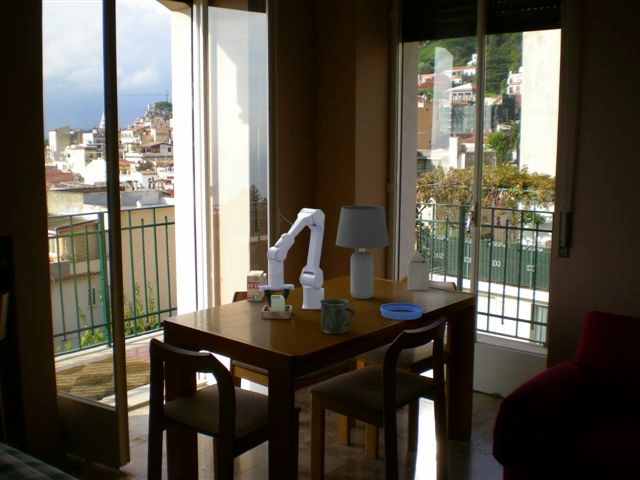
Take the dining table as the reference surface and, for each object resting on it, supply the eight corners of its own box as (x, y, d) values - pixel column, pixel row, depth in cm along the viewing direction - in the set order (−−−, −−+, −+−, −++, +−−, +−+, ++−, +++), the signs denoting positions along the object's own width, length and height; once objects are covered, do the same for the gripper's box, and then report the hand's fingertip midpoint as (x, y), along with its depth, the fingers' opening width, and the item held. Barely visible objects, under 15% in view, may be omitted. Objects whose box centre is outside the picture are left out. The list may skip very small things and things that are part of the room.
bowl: (395, 322, 281) (395, 314, 281) (372, 313, 297) (372, 305, 297) (431, 317, 290) (431, 309, 289) (407, 308, 305) (407, 300, 305)
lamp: (375, 290, 342) (376, 204, 336) (397, 301, 319) (398, 209, 313) (328, 293, 334) (328, 205, 328) (346, 305, 311) (346, 210, 305)
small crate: (281, 308, 296) (281, 295, 296) (284, 312, 289) (284, 298, 288) (268, 309, 295) (268, 295, 294) (272, 313, 288) (272, 299, 287)
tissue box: (421, 292, 338) (422, 253, 336) (407, 290, 343) (407, 252, 341) (436, 286, 351) (437, 249, 349) (422, 285, 356) (423, 248, 354)
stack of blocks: (254, 291, 340) (254, 267, 339) (267, 291, 340) (266, 267, 338) (246, 301, 319) (246, 275, 318) (260, 301, 319) (260, 275, 317)
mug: (329, 326, 275) (329, 296, 273) (361, 331, 267) (361, 301, 266) (314, 332, 266) (314, 302, 264) (347, 338, 258) (347, 306, 256)
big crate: (292, 312, 298) (292, 305, 297) (290, 319, 286) (290, 312, 285) (264, 311, 298) (264, 305, 298) (261, 318, 286) (261, 311, 286)
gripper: (291, 272, 295) (291, 303, 297) (258, 274, 292) (258, 305, 293) (295, 275, 289) (295, 307, 290) (261, 277, 285) (261, 309, 287)
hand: (276, 306), depth 291 cm, fingers closed on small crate, 5 cm apart
